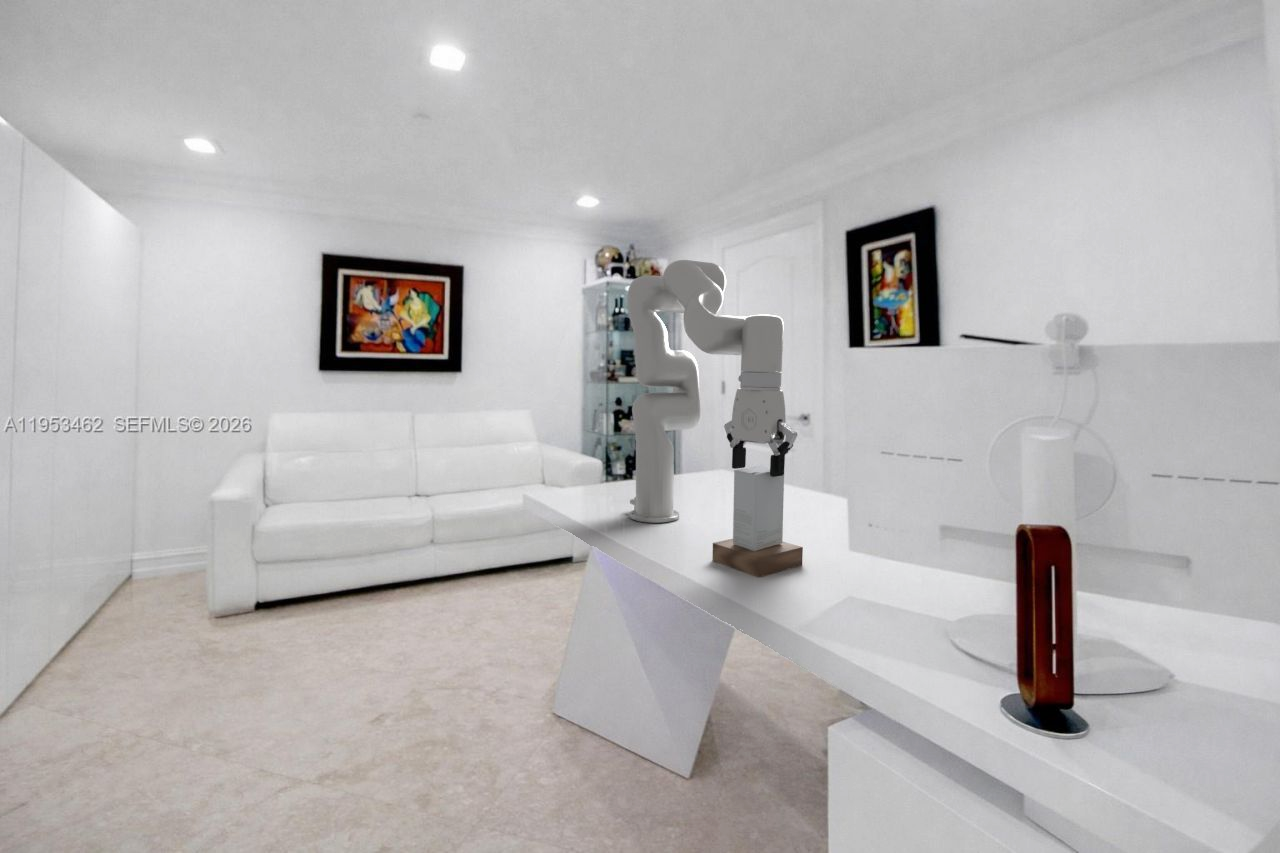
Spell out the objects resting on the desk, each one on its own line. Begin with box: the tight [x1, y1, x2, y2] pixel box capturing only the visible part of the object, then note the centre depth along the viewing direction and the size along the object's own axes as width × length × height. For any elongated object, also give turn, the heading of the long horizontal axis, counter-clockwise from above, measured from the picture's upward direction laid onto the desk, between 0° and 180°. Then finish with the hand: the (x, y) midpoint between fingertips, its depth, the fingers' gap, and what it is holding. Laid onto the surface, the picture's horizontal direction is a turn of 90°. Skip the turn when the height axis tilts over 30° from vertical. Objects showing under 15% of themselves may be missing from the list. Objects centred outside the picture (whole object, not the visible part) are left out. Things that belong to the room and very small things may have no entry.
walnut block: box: [712, 538, 804, 578], centre depth 116 cm, size 12×12×4 cm
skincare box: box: [732, 464, 785, 551], centre depth 115 cm, size 8×6×15 cm
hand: (757, 471), depth 115 cm, fingers open, 9 cm apart
